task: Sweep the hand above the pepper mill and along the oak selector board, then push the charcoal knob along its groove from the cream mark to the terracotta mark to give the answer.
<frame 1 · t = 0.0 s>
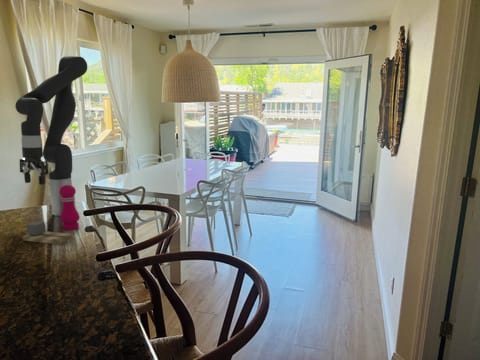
hand: (34, 183, 152), 17 cm above the kitchen counter, tool pointing down, fingers open, 8 cm apart
pepper mill: (70, 228, 148), on the kitchen counter
selector knob: (36, 228, 135), point 4 cm above the kitchen counter, slide at 0.0 cm
selector board: (48, 239, 135), on the kitchen counter
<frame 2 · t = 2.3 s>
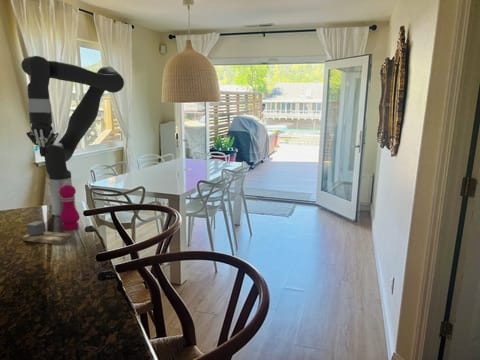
hand: (44, 156, 137), 31 cm above the kitchen counter, tool pointing down, fingers closed
nothing on the kitchen counter moved.
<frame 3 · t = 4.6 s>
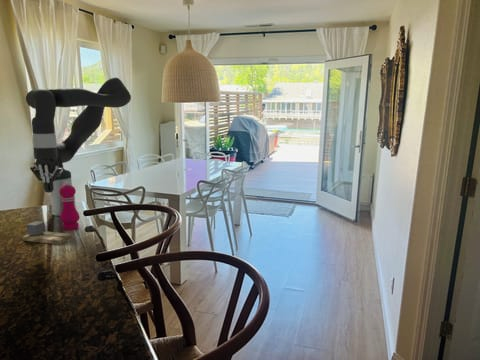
hand: (49, 192, 131), 19 cm above the kitchen counter, tool pointing down, fingers closed
nothing on the kitchen counter moved.
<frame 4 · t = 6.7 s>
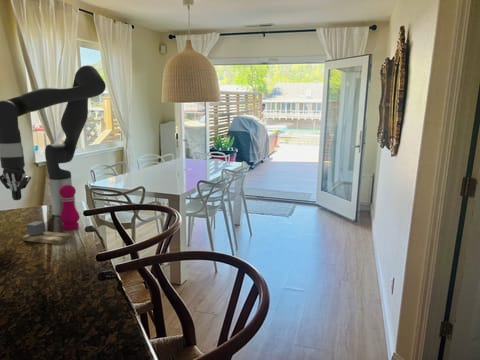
hand: (17, 199, 135), 15 cm above the kitchen counter, tool pointing down, fingers closed
nothing on the kitchen counter moved.
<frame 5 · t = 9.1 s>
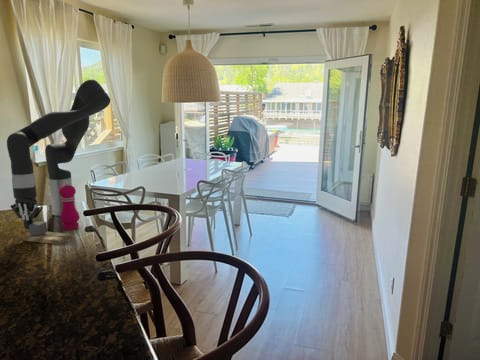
hand: (29, 228, 136), 4 cm above the kitchen counter, tool pointing down, fingers closed
selector knob: (38, 228, 135), point 4 cm above the kitchen counter, slide at 1.0 cm, touching gripper
everything else where it was.
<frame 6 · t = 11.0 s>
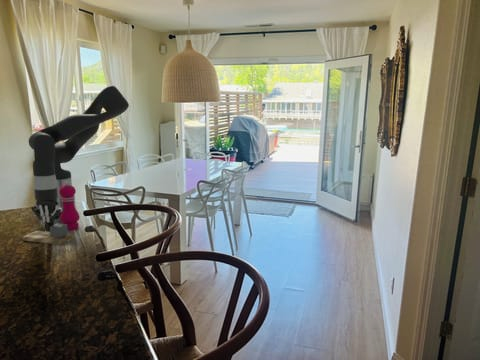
hand: (49, 230, 134), 4 cm above the kitchen counter, tool pointing down, fingers closed
selector knob: (58, 230, 133), point 4 cm above the kitchen counter, slide at 10.1 cm, touching gripper
everything else where it was.
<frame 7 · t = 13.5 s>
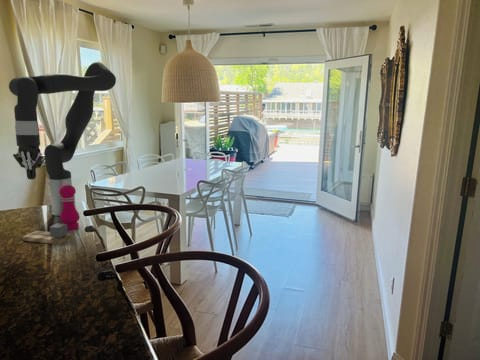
hand: (31, 178, 133), 23 cm above the kitchen counter, tool pointing down, fingers closed
selector knob: (58, 230, 133), point 4 cm above the kitchen counter, slide at 10.0 cm
everything else where it was.
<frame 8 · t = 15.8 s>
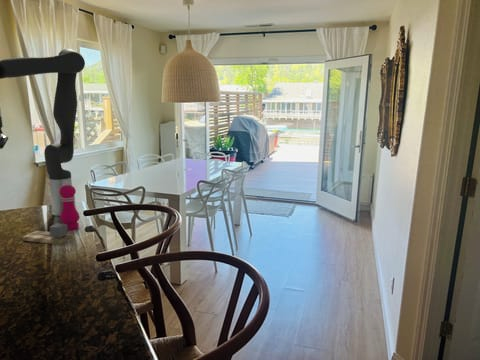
nothing on the kitchen counter moved.
at the end: selector knob slide at 10.0 cm; pepper mill moved 0.2 cm from its start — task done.
